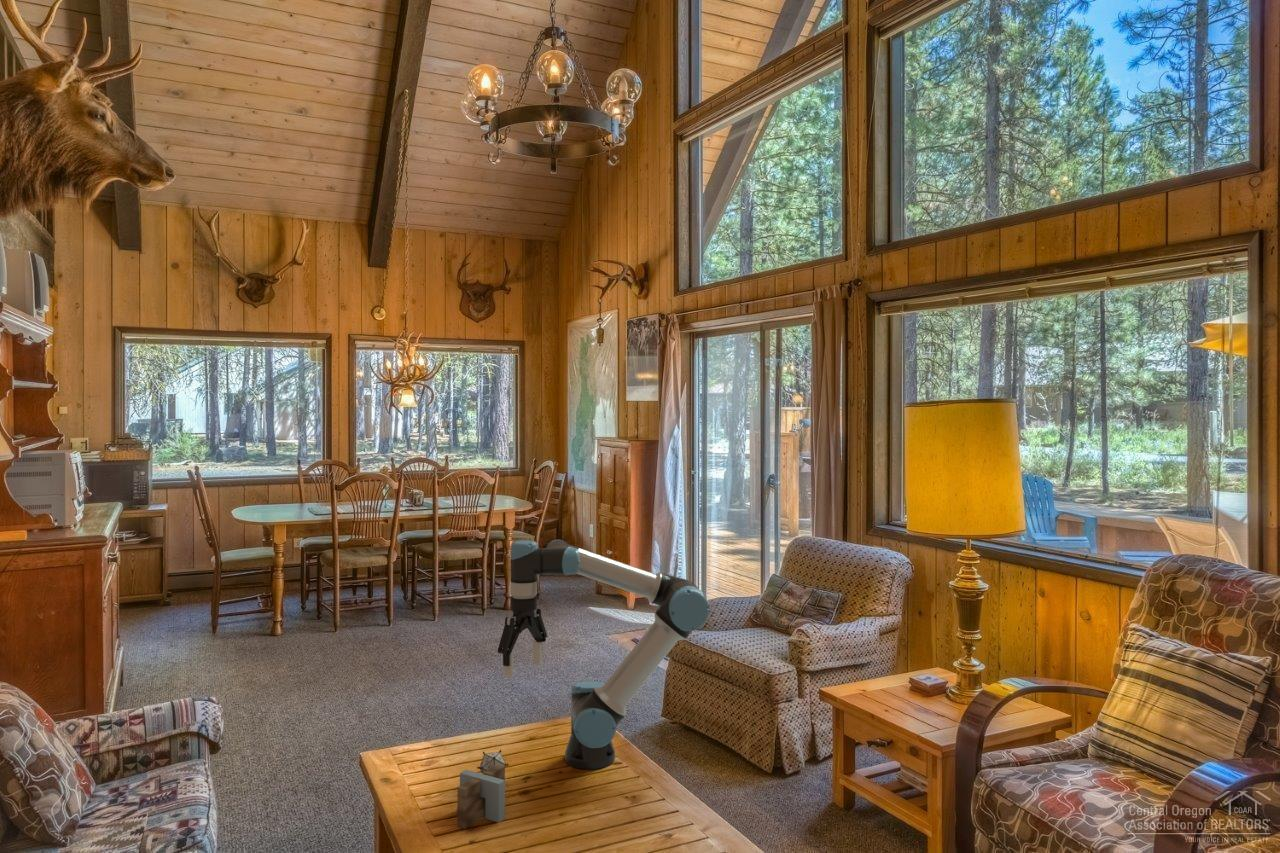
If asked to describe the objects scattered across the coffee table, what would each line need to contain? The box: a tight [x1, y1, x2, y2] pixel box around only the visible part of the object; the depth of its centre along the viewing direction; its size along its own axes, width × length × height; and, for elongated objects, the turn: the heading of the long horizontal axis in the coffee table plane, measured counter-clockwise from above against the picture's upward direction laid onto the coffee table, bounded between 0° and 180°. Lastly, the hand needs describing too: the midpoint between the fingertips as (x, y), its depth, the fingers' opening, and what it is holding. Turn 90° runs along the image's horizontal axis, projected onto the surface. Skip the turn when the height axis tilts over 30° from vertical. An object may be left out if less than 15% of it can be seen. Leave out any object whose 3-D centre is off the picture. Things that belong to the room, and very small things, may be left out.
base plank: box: [456, 764, 506, 830], centre depth 220 cm, size 16×2×10 cm, turn 151°
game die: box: [476, 749, 510, 774], centre depth 240 cm, size 9×8×10 cm
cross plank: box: [459, 769, 506, 824], centre depth 220 cm, size 2×13×10 cm, turn 61°
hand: (523, 670), depth 239 cm, fingers open, 13 cm apart
